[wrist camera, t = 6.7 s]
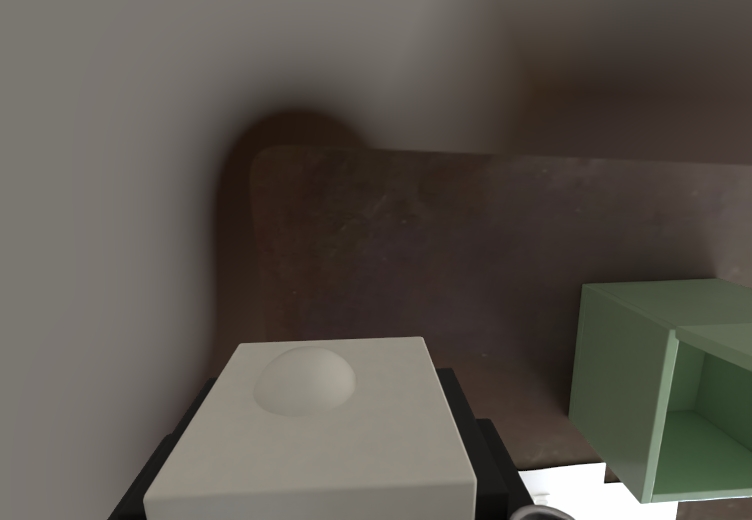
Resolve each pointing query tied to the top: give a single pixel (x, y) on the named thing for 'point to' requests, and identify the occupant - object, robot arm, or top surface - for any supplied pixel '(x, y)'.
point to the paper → (590, 495)
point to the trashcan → (664, 389)
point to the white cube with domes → (320, 439)
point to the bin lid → (721, 341)
